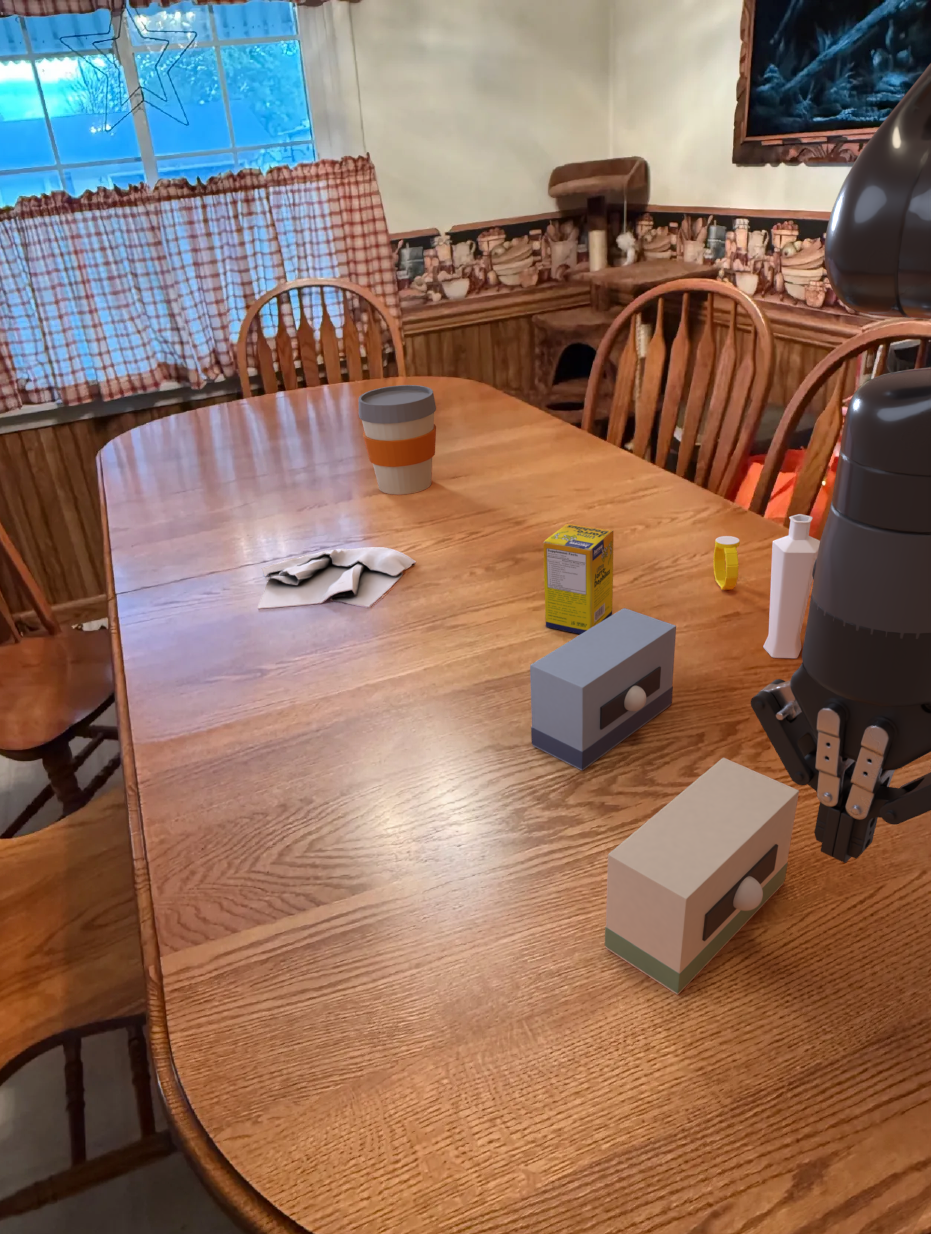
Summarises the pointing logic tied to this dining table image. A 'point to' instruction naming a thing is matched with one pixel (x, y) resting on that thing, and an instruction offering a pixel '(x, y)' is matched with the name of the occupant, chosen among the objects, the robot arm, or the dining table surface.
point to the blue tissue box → (601, 687)
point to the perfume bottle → (790, 587)
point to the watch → (726, 549)
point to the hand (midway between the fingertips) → (839, 850)
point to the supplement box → (578, 577)
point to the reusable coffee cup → (400, 436)
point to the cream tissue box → (698, 872)
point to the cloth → (334, 577)
